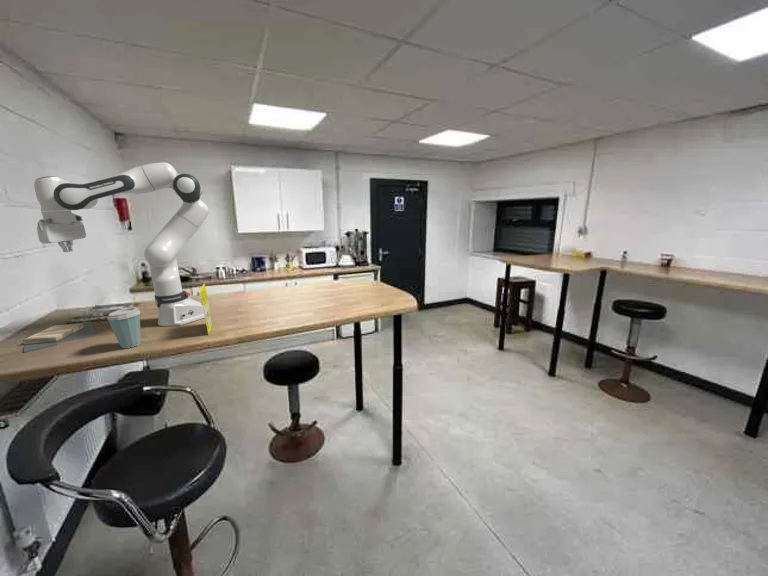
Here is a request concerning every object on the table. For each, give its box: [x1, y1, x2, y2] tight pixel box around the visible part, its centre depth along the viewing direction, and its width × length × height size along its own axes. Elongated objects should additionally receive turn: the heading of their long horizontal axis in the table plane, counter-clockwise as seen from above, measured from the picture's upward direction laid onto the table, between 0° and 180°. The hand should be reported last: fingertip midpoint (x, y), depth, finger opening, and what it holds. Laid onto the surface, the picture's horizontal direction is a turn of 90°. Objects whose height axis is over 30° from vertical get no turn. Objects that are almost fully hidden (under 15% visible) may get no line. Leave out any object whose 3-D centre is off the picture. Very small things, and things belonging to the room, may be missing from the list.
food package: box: [199, 282, 213, 336], centre depth 144 cm, size 15×1×20 cm, turn 22°
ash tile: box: [22, 322, 84, 345], centre depth 143 cm, size 2×12×16 cm
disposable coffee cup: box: [106, 306, 142, 349], centre depth 131 cm, size 11×11×15 cm
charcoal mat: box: [23, 320, 97, 353], centre depth 145 cm, size 22×26×1 cm
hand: (68, 251), depth 136 cm, fingers closed
